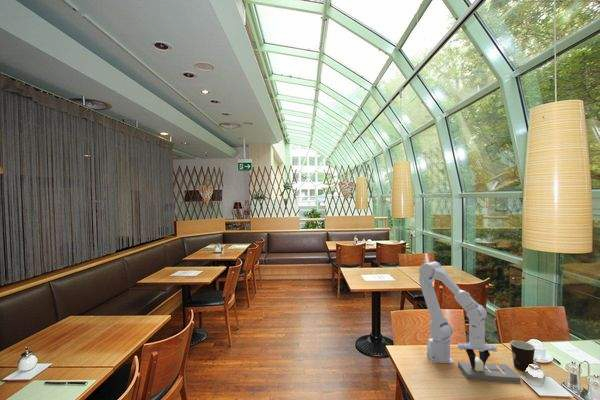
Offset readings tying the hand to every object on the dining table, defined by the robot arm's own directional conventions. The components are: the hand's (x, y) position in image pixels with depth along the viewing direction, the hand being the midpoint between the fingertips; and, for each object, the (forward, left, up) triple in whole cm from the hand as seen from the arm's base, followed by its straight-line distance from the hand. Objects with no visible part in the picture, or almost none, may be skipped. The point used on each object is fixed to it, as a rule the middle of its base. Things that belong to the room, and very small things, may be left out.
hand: (477, 367), depth 128 cm
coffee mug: (+22, +8, -3) cm, 24 cm away
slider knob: (0, 0, 0) cm, 0 cm away
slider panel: (+4, 0, -3) cm, 5 cm away
